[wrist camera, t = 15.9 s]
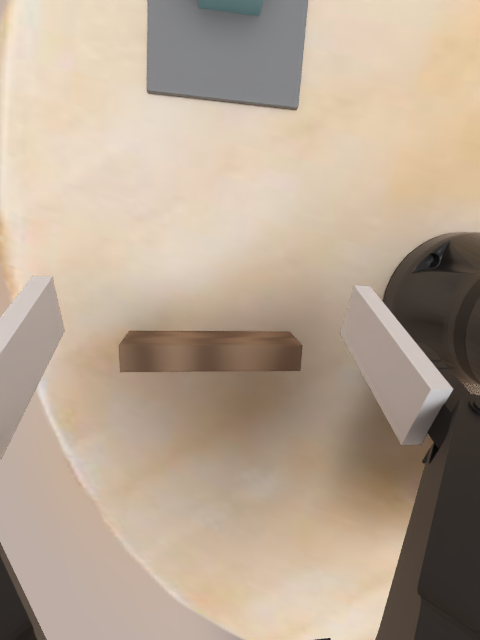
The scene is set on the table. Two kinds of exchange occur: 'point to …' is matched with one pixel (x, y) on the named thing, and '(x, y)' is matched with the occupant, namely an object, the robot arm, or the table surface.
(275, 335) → the rail
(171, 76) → the mat
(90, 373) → the table surface
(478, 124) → the table surface
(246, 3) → the block
